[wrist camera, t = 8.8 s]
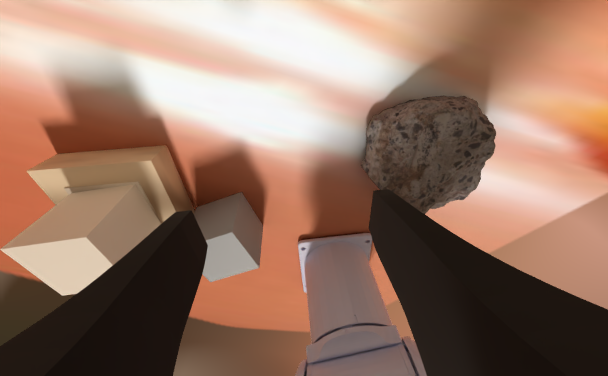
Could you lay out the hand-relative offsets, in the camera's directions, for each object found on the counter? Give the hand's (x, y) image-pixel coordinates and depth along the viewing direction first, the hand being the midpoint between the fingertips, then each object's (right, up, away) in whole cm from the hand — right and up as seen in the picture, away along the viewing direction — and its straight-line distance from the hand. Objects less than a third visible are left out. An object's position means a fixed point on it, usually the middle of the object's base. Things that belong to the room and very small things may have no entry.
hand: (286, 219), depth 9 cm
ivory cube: (-13, -1, +8) cm, 15 cm away
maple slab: (-14, +1, +10) cm, 17 cm away
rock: (+10, +5, +11) cm, 16 cm away
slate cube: (-6, -1, +13) cm, 14 cm away
